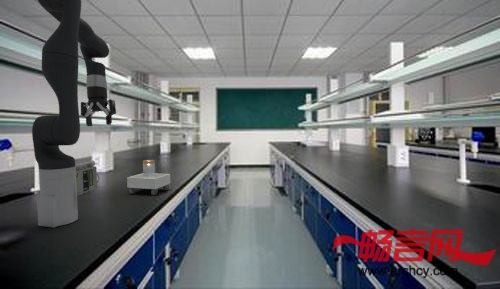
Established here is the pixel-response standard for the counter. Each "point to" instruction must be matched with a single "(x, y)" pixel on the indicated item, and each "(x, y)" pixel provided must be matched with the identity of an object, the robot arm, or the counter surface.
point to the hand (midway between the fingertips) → (99, 125)
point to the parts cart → (148, 182)
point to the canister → (148, 168)
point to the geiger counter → (86, 177)
